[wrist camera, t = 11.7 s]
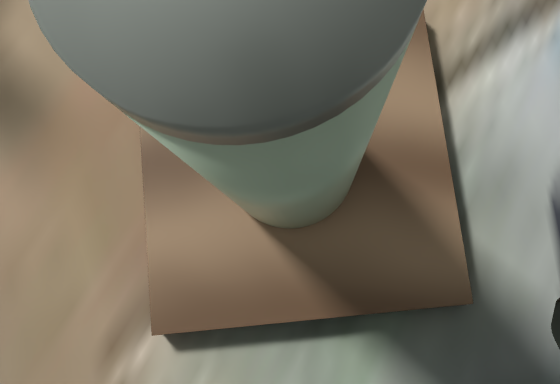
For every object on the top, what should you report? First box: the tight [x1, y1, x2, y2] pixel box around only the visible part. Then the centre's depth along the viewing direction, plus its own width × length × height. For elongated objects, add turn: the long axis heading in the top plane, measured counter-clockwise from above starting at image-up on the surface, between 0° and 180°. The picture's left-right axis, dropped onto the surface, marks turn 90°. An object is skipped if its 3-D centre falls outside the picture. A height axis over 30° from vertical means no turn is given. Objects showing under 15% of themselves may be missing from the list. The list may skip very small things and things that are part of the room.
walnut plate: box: [140, 10, 473, 336], centre depth 19 cm, size 12×12×1 cm
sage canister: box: [29, 0, 427, 229], centre depth 12 cm, size 5×5×13 cm
